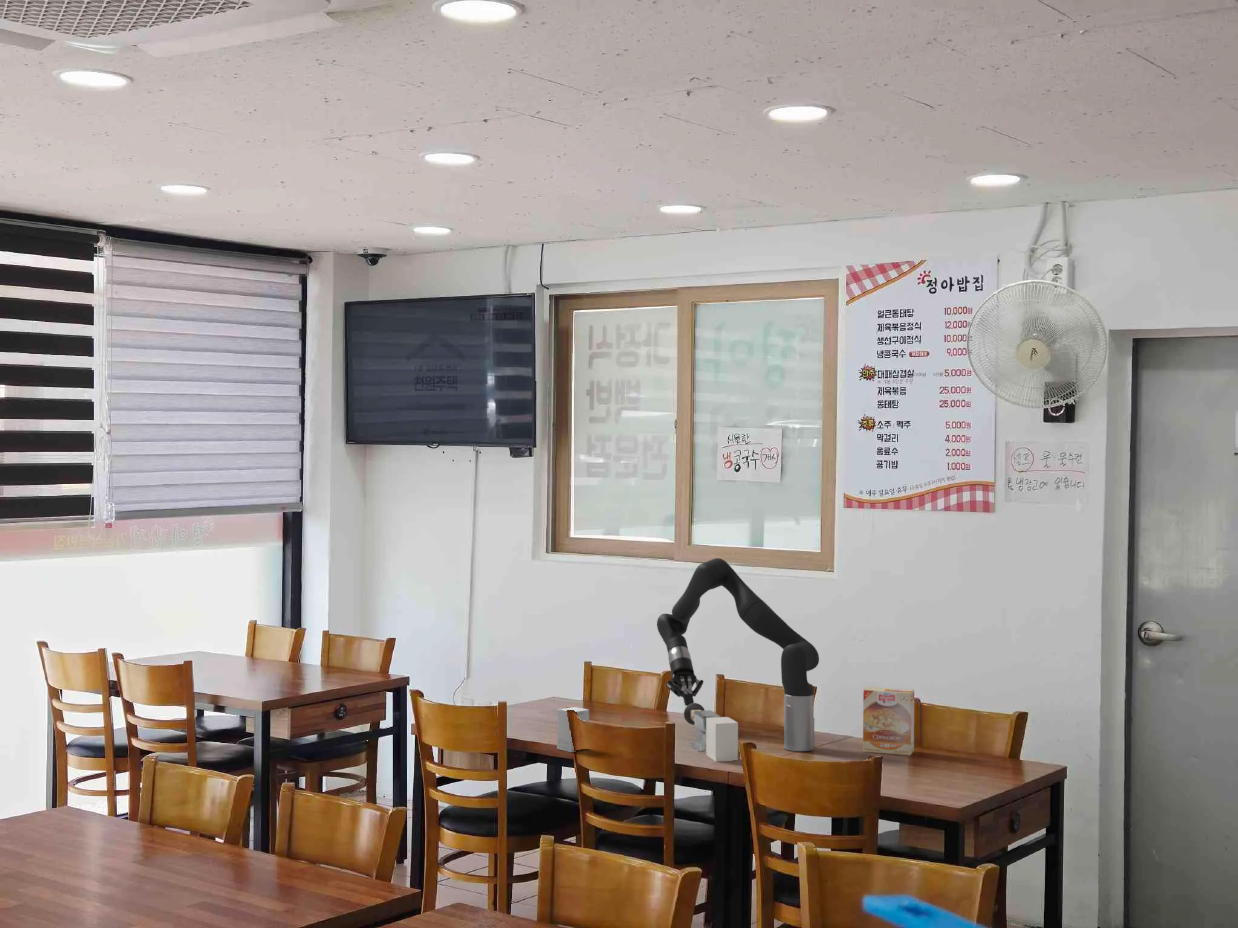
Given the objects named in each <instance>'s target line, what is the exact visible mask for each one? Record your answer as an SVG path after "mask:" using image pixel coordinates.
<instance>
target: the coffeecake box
mask: <svg viewBox="0 0 1238 928" xmlns="http://www.w3.org/2000/svg"><path fill="white" fill-rule="evenodd" d="M862 697H863V700H862V701H863V702H862V705H863V707H862V708H863V713H862V716H863V720H862V752H864V753H876V754H887V755H889V754H890V755H900V756H901V755H902V756H911V755H912V754H913V753H914V751H915V689H907V688H906V689H903V688H890V687H876V686H866V688H864V689H863V695H862Z"/></svg>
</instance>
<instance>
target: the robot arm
mask: <svg viewBox="0 0 1238 928" xmlns="http://www.w3.org/2000/svg"><path fill="white" fill-rule="evenodd" d="M719 587H723V588H724V589H726V590H727V591H728V592H729V593H730V594H731V596H732V597H733V598H734V603H735V608H736V611H737V614H738V616H739V618H740V619H741V620H742V621H743V623H745V625H747V626H748V627H749V629H751V630H752V631H753V632H754V633H756V634H758V636H759V635H760V636H761V637H762V638H763V637H764V638H765V639H767V640H769V641H771V642H772V643H775V644H776V645H778V647H780V648H781V649H782V653H781V657H780V669H781V673H780V674H781V683H782V684H781V685H782V687H783V692H784V694H783V695H784V702H783V704H784V705H783V706H784V707H783V708H784V713H783V715H784V717H783V718H784V719H783V720H784V722H783V724H784V725H783V727H784V728H783V748H784V749H785V750H787V751H792V752H809V751H813V750H814V748H815V717H814V716H815V715H814V713H815V712H814V711H815V708H814V706H815V704H814V703H815V700H814V699H815V698H814V697H815V692H814V691H815V689H814V685H813V684H812V683H810V682H809V681H808V674H807V672H810V671H812V670H814V669H815V668H817V667H818V665H819V661H820V654H819V653H818V650H817V649H816V647H815V645H813V644H812V643H811V642H809V641H808V640H807V639H806V638H804V637H803V636H802V635H800V634H799V633H798V632H797V631H795V630H794V629H793V628H792V627H790V625H788V623H786V621H785V620H784V619H782V617H780V616H779V615H778V614H777V613H776V612H775V611H774V610H773V609H772V608H771V607H770V606H769V605H768V604H767V603H766V602H765V601H764V600H763V599H761V597H759V596H758V595H757V594H756V593H755V592H754V591H753V590H752V589H751V588H750V587H749V586H748V585H747V584H746V583H745V581H744V580H742V578H741V577H740V576H739V574H738V573H737V572H736V571H735V570H734V569H733V567H731V565H730V564H729V563H728V562H727V561H725V560H724V559H723V558H718V557H717V558H712V559H710V560H707V561H705V562H702V563H700V564H699V565H698V566H696V568H695V570H694V572H693V574H692V577H691V579H690V581H689V583H688V585H687V587H686V589H685V591H684V592H683V594H682V595H681V596H680V598H678V600H677V602H675V604H674V605H673V606H672V610H671V614H670V613H662V614H660V615H659V616H658V617H657V620H656V629H657V630H658V634H659V635H660V637H661V639H662V641H663V642H664V645H665V646H666V650H667V656H668V657H667V658H668V665H669V667H670V668H669V669H670V672H671V679H670V680H667V684H666V687H667V689H669V690H670V692H672V693H673V694H675V696H676V697H678V698H680V697H681V698H683V703H684V705H685V707H687V706H688V705H689V704H691V703H695V702H694V697H696V696H697V695H698V693H699V691H700V690H701V688H703V685H704V680H703V679H698V678H697V675H696V674H695V670H694V666H693V661H692V657H691V653H690V652H689V648H688V643H687V639H686V638H685V636H684V635H685V634H686V632H687V630H688V627H689V623H690V620H691V618H692V617H693V616H694V615H695V613H696V612H697V611H698V609H699V608H700V604H701V598H702V596H704V595H705V594H706V593H707V592H708V591H710V590H714V589H717V588H719ZM694 685H695V687H694ZM693 687H694V689H693Z"/></svg>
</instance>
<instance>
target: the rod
mask: <svg viewBox="0 0 1238 928" xmlns="http://www.w3.org/2000/svg"><path fill="white" fill-rule="evenodd" d="M695 711H706V710H705V708H704V707H703V705H701V704H700V703H697V702H694V703H691V704H689V705H688V706H685V708H684V711H683V718H684V720H685V721H686V722H687V723H688V724H690V725H692V726H695Z"/></svg>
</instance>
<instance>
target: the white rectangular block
mask: <svg viewBox="0 0 1238 928" xmlns="http://www.w3.org/2000/svg"><path fill="white" fill-rule="evenodd" d="M705 755H706V756H707V757H708V758H710V759H711V760H712V761H714V762H733V761H732V760H738V759H739V723H738V722H737V721H736V720H734V719H732V718H730V717H728V716H720V717H714V718H706V751H705ZM738 761H739V760H738Z"/></svg>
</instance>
